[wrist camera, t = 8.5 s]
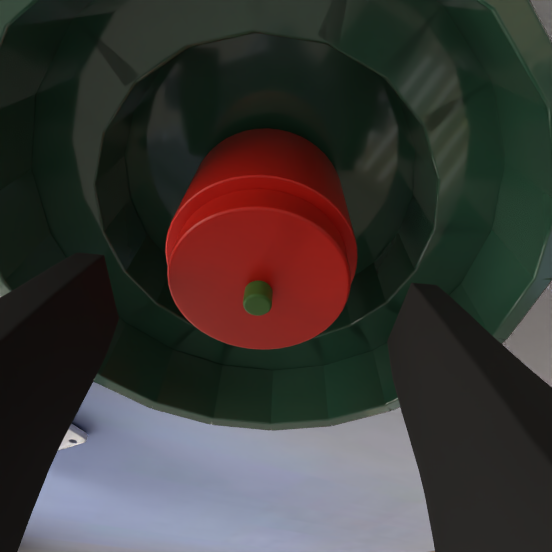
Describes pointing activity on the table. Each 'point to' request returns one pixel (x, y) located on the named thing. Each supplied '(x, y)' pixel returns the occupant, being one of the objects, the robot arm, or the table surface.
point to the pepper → (262, 242)
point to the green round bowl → (298, 120)
